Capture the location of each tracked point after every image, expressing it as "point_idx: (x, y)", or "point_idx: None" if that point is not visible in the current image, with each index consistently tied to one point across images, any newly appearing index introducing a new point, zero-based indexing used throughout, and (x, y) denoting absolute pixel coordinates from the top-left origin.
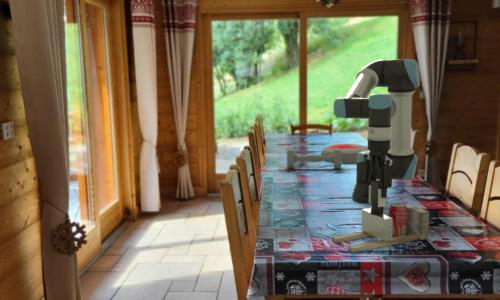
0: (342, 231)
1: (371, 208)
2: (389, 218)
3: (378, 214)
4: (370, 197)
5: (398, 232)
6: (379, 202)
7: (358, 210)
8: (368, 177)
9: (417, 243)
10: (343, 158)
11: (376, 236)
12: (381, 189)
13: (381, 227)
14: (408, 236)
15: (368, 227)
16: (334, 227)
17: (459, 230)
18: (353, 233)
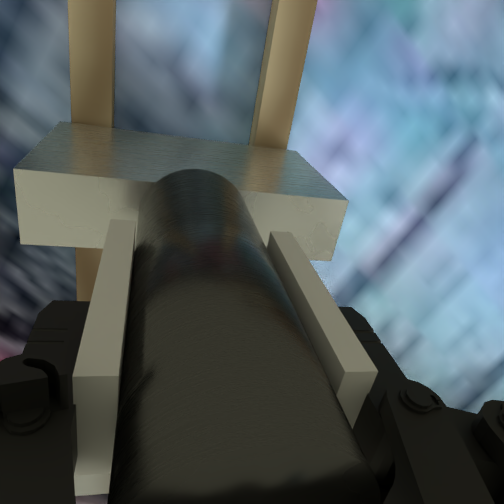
0: (394, 93)
1: (212, 189)
2: (19, 213)
3: (143, 199)
4: (287, 267)
5: None
6: (106, 244)
7: (496, 353)
8: (491, 499)
9: (35, 295)
10: None
11: (147, 133)
12: (77, 390)
13: (87, 148)
14: (86, 298)
15: (236, 153)
16: (464, 102)
17: (92, 500)
18: (295, 73)
